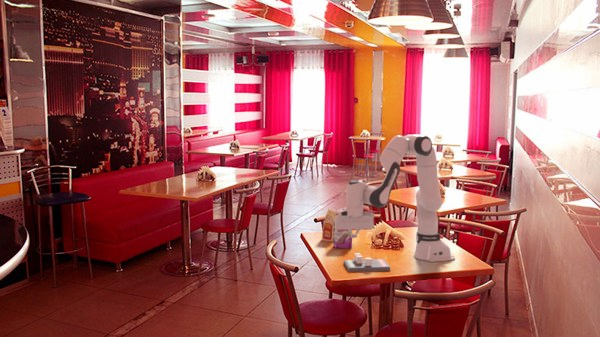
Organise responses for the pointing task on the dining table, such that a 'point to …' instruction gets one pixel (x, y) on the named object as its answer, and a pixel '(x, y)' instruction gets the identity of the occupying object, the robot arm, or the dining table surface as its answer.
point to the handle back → (356, 255)
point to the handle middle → (359, 259)
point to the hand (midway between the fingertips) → (353, 237)
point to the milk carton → (329, 225)
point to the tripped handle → (368, 261)
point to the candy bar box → (342, 238)
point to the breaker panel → (376, 266)
